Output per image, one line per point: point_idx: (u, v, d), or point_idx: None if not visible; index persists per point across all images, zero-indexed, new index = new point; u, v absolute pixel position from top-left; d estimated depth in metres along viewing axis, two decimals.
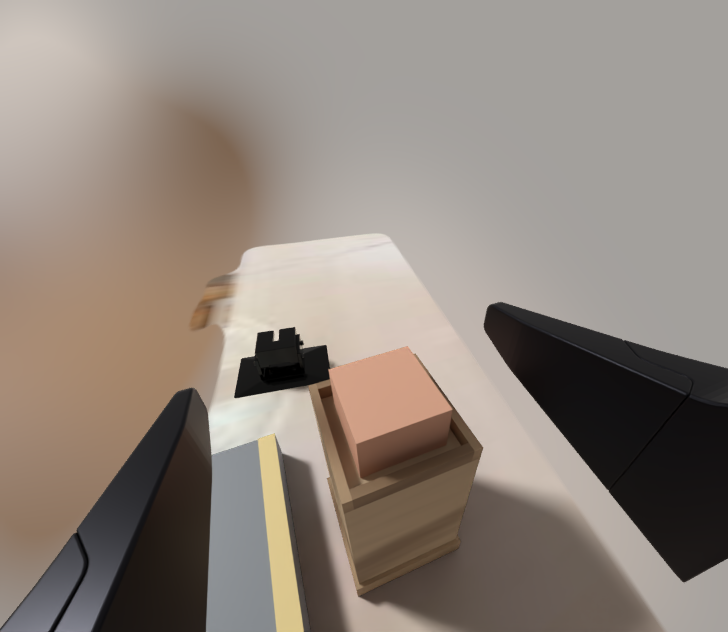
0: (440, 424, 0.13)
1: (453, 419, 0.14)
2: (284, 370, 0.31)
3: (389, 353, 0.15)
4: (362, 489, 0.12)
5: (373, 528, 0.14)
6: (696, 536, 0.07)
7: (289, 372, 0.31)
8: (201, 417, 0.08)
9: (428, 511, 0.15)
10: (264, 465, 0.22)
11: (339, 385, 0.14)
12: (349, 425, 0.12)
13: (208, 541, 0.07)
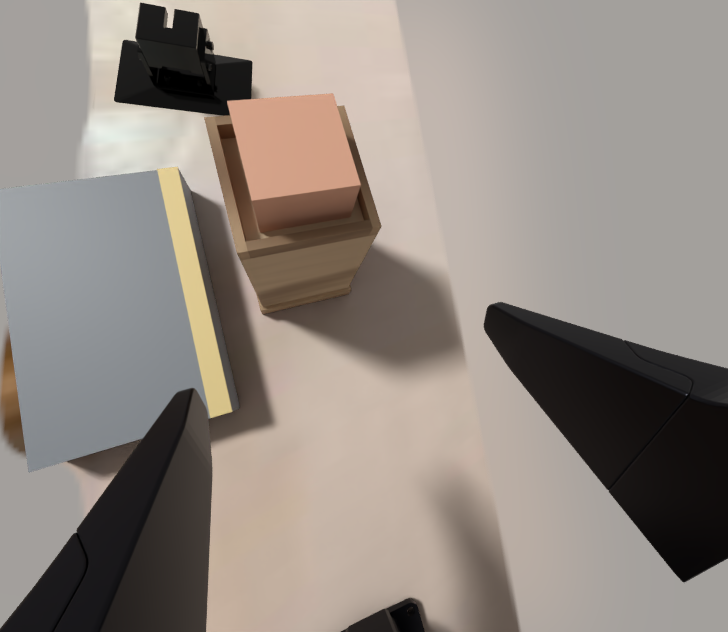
0: (346, 197, 0.13)
1: (363, 193, 0.14)
2: (186, 81, 0.24)
3: (308, 98, 0.12)
4: (258, 243, 0.13)
5: (271, 273, 0.16)
6: (696, 536, 0.07)
7: (192, 86, 0.24)
8: (201, 417, 0.08)
9: (324, 267, 0.17)
10: (168, 199, 0.20)
11: (239, 127, 0.12)
12: (247, 179, 0.11)
13: (208, 541, 0.07)
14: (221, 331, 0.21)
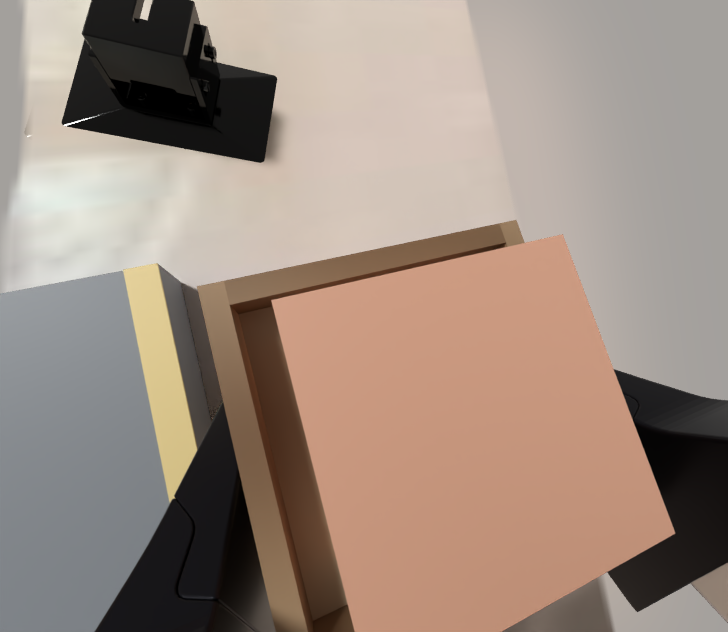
0: None
1: None
2: (171, 102, 0.16)
3: (504, 257, 0.04)
4: None
5: None
6: (646, 566, 0.06)
7: (181, 111, 0.16)
8: None
9: None
10: (142, 321, 0.12)
11: (315, 393, 0.03)
12: (348, 596, 0.03)
13: None
14: None
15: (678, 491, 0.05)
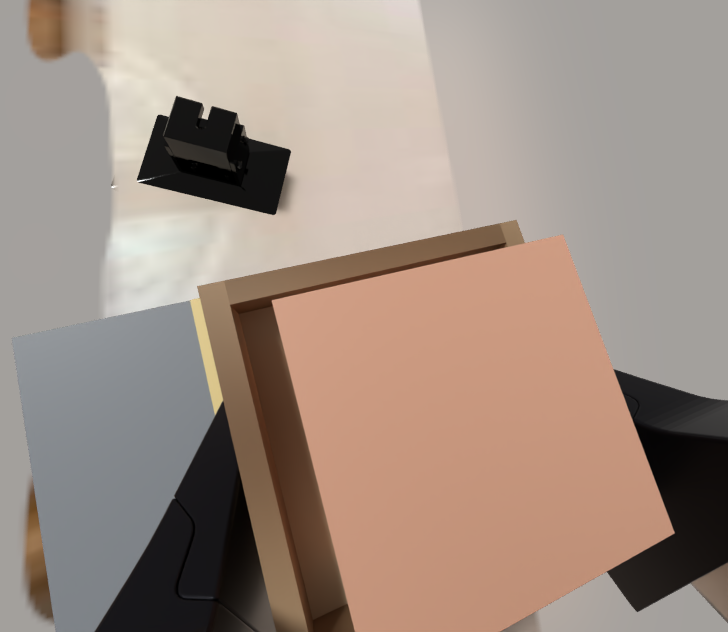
0: None
1: None
2: (214, 170, 0.23)
3: (504, 257, 0.04)
4: None
5: None
6: (645, 565, 0.06)
7: (219, 176, 0.23)
8: None
9: None
10: (202, 334, 0.19)
11: (316, 393, 0.03)
12: (348, 596, 0.03)
13: None
14: None
15: (678, 490, 0.05)
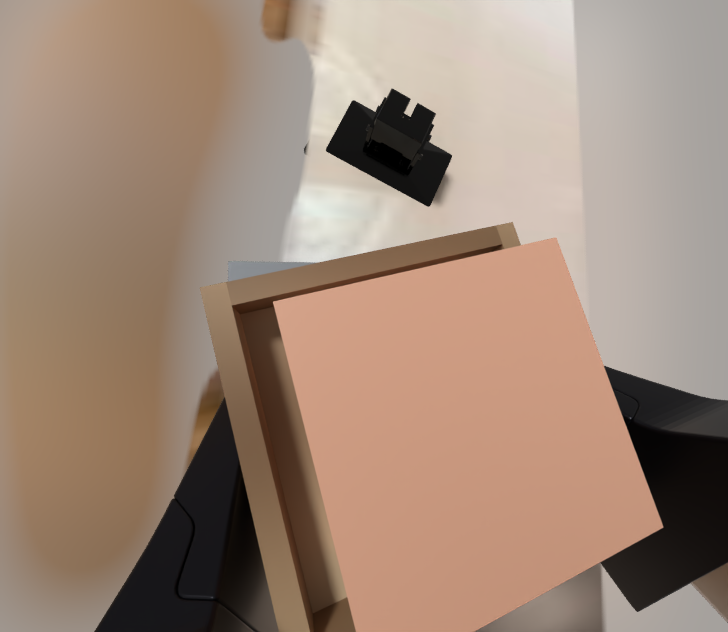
0: None
1: None
2: (390, 156, 0.26)
3: (499, 260, 0.04)
4: None
5: None
6: (646, 566, 0.06)
7: (394, 163, 0.26)
8: None
9: None
10: None
11: (315, 391, 0.04)
12: (346, 586, 0.03)
13: None
14: None
15: (679, 491, 0.05)
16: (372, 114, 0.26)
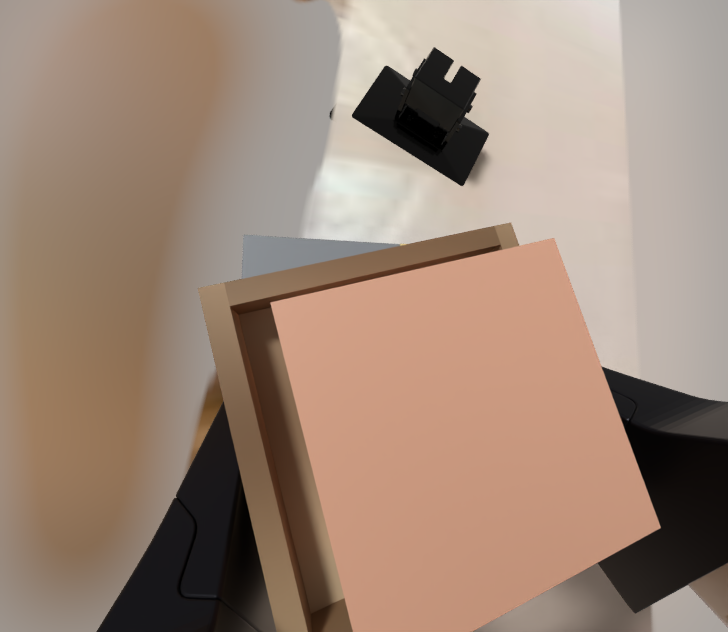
0: None
1: None
2: (424, 127, 0.23)
3: (496, 260, 0.04)
4: None
5: None
6: (643, 567, 0.06)
7: (428, 135, 0.23)
8: None
9: None
10: None
11: (313, 392, 0.04)
12: (344, 587, 0.03)
13: None
14: None
15: (676, 493, 0.05)
16: (406, 82, 0.24)
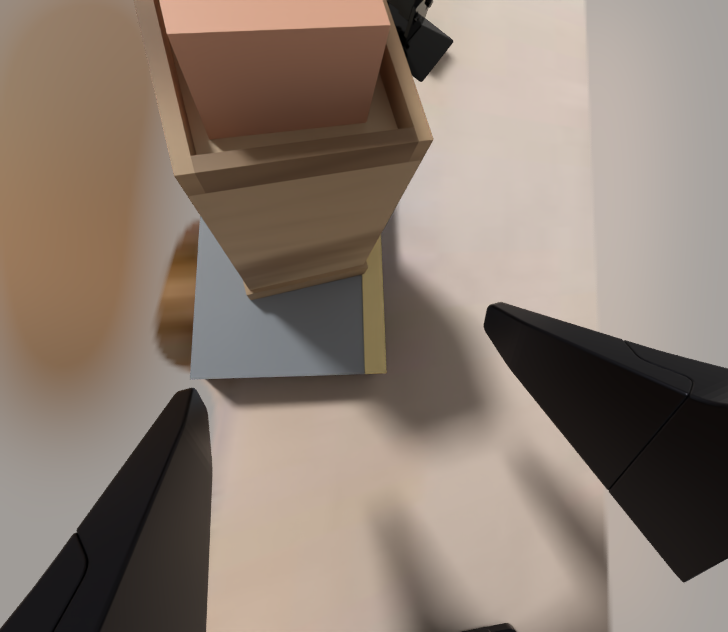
0: (361, 62, 0.07)
1: (401, 83, 0.08)
2: None
3: None
4: (215, 160, 0.07)
5: (251, 231, 0.10)
6: (696, 536, 0.07)
7: None
8: (201, 417, 0.08)
9: (333, 225, 0.11)
10: None
11: None
12: None
13: (208, 541, 0.07)
14: None
15: None
16: None
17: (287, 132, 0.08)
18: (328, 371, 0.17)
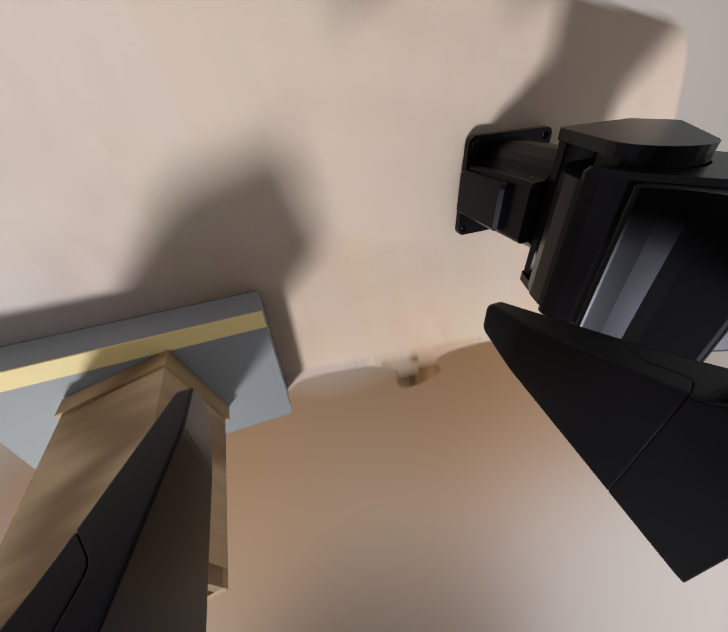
0: None
1: None
2: None
3: None
4: (212, 588, 0.14)
5: (214, 509, 0.16)
6: (696, 536, 0.07)
7: None
8: (201, 417, 0.08)
9: None
10: None
11: None
12: None
13: (208, 541, 0.07)
14: (173, 312, 0.20)
15: None
16: None
17: None
18: (270, 349, 0.21)
